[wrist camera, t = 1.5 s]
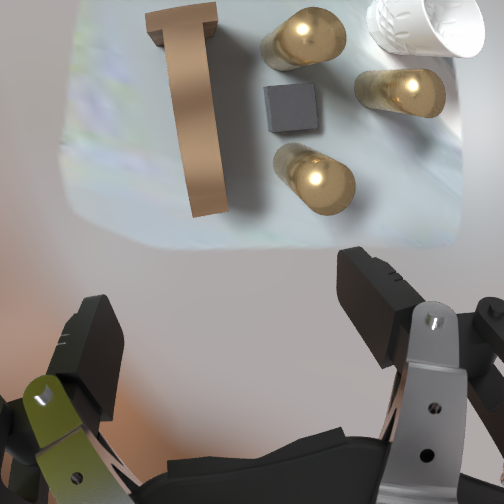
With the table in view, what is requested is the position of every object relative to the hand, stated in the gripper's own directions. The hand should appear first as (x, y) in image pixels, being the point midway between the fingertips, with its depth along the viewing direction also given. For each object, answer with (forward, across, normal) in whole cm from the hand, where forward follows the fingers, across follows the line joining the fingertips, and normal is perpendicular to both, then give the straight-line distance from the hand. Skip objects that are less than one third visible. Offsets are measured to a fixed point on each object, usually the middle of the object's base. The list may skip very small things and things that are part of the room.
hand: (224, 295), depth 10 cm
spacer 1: (+20, -8, -10) cm, 24 cm away
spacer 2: (+20, -8, +1) cm, 22 cm away
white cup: (+20, -21, -14) cm, 32 cm away
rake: (+20, 0, -6) cm, 21 cm away
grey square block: (+20, -8, -5) cm, 23 cm away
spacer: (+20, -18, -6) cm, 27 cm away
